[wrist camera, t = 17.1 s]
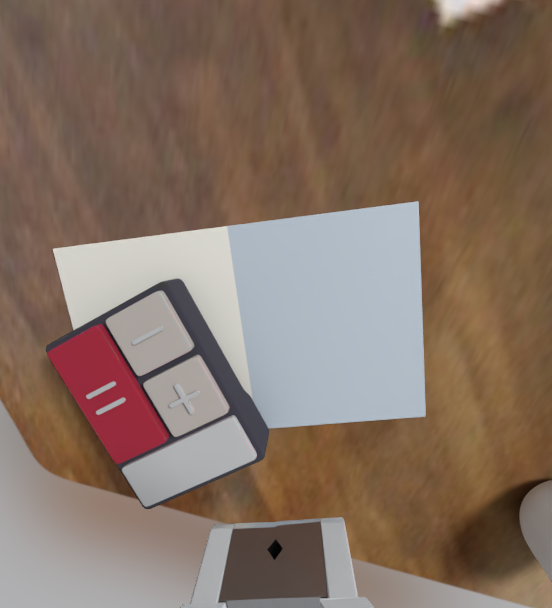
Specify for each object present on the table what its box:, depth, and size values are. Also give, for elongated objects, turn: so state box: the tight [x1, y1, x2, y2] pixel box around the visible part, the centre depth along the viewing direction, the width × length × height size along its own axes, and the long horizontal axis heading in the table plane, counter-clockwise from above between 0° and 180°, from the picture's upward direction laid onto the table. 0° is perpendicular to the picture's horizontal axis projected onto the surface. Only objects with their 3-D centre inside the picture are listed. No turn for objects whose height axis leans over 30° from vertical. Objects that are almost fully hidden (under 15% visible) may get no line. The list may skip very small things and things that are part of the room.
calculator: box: [46, 279, 269, 509], centre depth 25 cm, size 11×4×15 cm
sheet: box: [53, 202, 426, 428], centre depth 26 cm, size 17×28×1 cm, turn 97°
